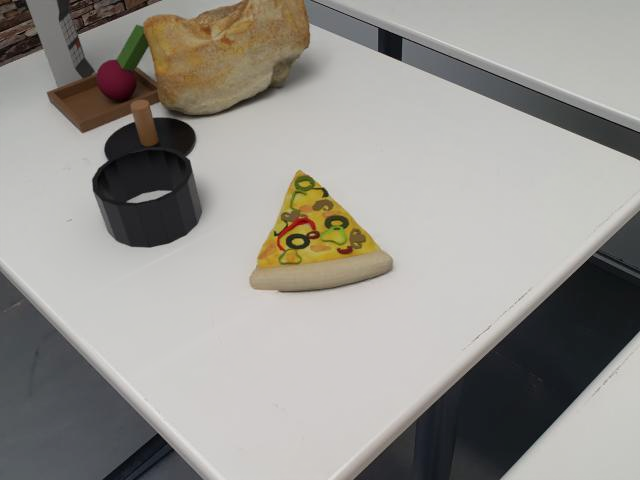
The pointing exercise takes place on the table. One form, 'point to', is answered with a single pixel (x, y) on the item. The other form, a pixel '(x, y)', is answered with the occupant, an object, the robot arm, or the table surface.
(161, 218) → the pot
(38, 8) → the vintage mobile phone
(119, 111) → the tray
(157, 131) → the lid
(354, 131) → the table surface
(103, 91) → the beet
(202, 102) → the bread loaf
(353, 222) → the pizza slice
